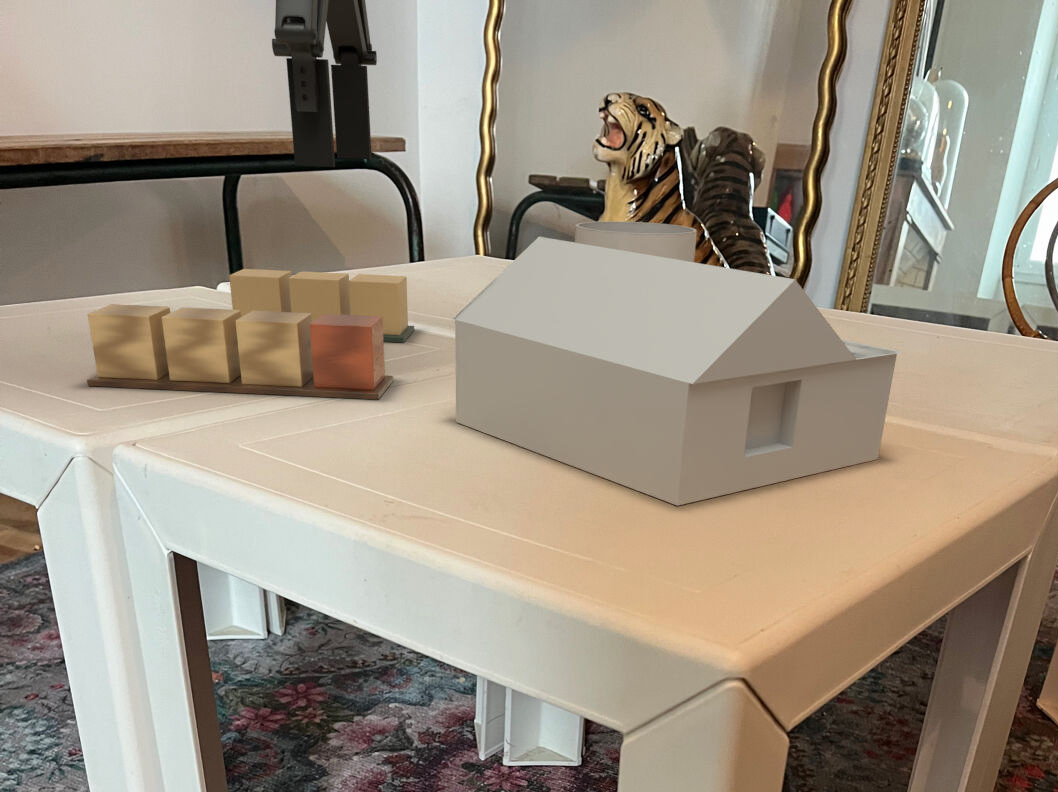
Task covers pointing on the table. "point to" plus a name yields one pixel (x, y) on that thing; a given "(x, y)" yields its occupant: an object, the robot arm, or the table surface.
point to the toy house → (666, 372)
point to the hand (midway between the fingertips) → (336, 162)
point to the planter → (640, 238)
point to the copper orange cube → (347, 351)
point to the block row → (325, 296)
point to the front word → (208, 351)
